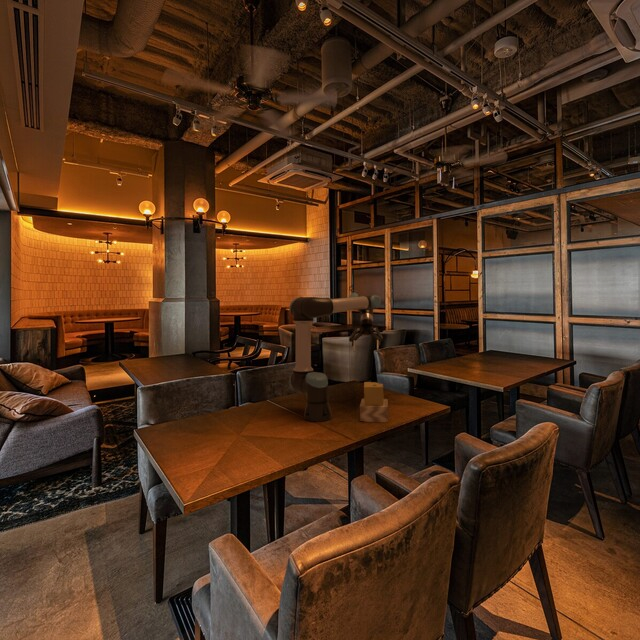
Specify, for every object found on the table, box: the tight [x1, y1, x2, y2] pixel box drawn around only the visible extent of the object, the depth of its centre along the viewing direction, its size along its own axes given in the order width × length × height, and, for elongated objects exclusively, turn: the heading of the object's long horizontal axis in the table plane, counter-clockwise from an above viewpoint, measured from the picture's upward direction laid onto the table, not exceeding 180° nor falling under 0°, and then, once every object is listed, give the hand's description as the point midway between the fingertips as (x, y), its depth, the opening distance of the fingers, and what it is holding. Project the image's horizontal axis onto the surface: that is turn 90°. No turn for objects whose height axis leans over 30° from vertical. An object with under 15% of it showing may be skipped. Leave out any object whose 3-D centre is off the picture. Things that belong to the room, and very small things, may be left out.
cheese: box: [363, 381, 385, 405], centre depth 196 cm, size 10×11×10 cm
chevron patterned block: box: [359, 398, 389, 423], centre depth 197 cm, size 14×14×8 cm
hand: (365, 350), depth 216 cm, fingers open, 13 cm apart
